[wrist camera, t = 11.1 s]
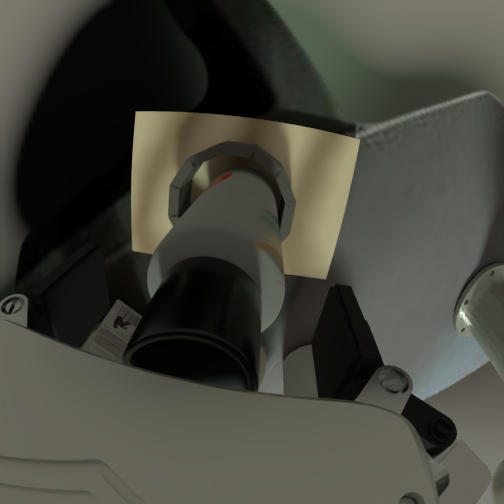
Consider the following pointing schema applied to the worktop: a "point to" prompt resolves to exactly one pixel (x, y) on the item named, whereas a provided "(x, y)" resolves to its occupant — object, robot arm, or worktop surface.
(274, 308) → the lotion bottle
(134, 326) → the coffee box
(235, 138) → the bottle holder
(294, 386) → the can
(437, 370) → the worktop surface
